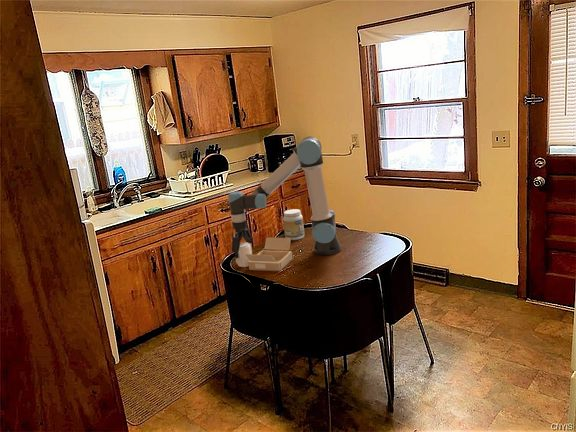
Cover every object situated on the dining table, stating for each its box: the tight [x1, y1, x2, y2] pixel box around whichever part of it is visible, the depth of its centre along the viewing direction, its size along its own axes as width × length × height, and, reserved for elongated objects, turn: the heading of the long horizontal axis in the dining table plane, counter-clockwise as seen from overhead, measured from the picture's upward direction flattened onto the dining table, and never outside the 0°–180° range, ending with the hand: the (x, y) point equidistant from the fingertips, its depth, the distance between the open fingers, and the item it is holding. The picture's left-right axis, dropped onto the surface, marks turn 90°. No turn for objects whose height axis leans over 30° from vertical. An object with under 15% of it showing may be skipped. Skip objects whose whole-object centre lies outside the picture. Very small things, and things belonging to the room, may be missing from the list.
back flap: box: [263, 237, 292, 251], centre depth 257 cm, size 15×7×1 cm
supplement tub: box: [282, 208, 305, 241], centre depth 287 cm, size 12×12×17 cm
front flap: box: [245, 253, 276, 262], centre depth 238 cm, size 15×7×1 cm
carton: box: [248, 249, 294, 273], centre depth 249 cm, size 19×17×4 cm
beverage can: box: [237, 241, 252, 268], centre depth 252 cm, size 8×8×12 cm
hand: (244, 258), depth 252 cm, fingers open, 12 cm apart
